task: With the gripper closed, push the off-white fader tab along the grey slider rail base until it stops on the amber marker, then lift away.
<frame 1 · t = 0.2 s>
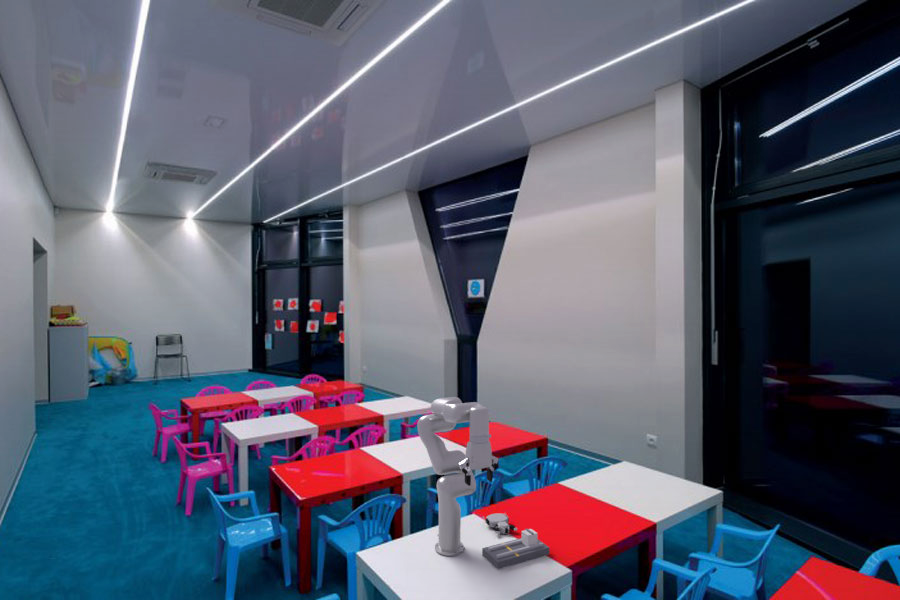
hand: (478, 482, 185), 37 cm above the table, tool pointing down, fingers open, 9 cm apart
fader tab: (529, 537, 205), point 6 cm above the table, slide at 0.0 cm
robot toy: (500, 529, 225), on the table
grey slider rail base: (515, 554, 201), on the table
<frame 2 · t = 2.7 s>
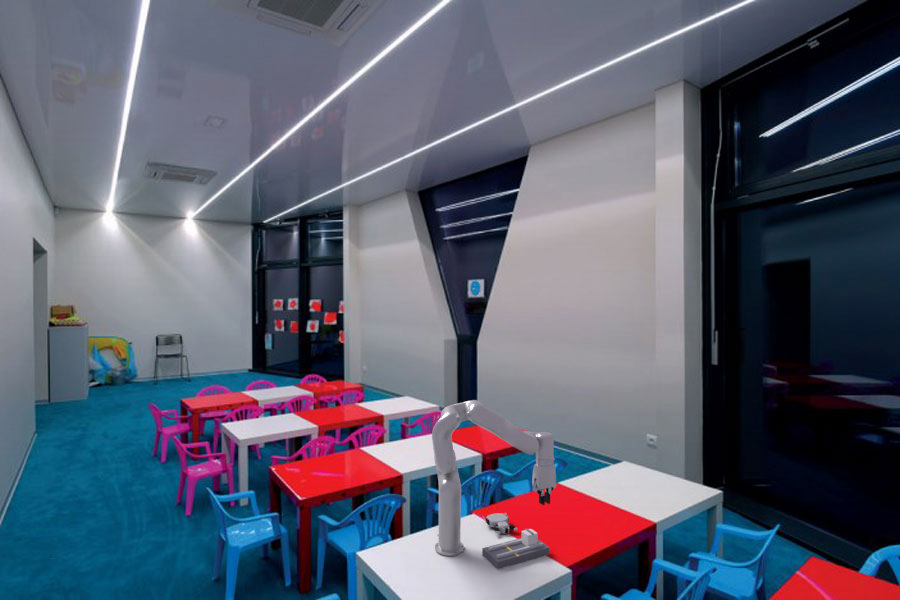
hand: (544, 503, 208), 19 cm above the table, tool pointing down, fingers closed
nothing on the table moved.
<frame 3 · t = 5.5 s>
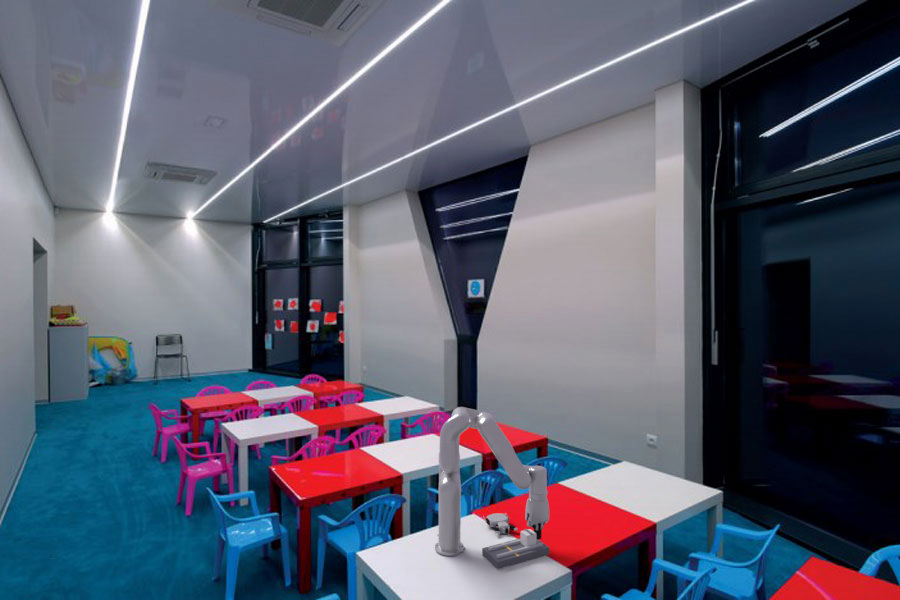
hand: (537, 537, 207), 5 cm above the table, tool pointing down, fingers closed
fader tab: (528, 537, 204), point 6 cm above the table, slide at 0.6 cm, touching gripper
everything else where it was.
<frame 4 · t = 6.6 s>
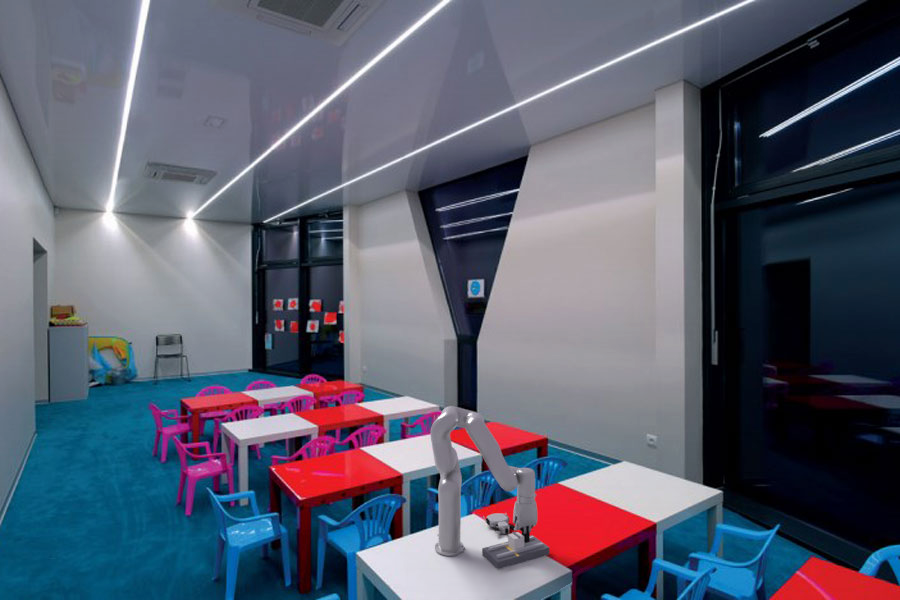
hand: (525, 541, 204), 5 cm above the table, tool pointing down, fingers closed
fader tab: (516, 540, 202), point 6 cm above the table, slide at 6.9 cm, touching gripper
everything else where it was.
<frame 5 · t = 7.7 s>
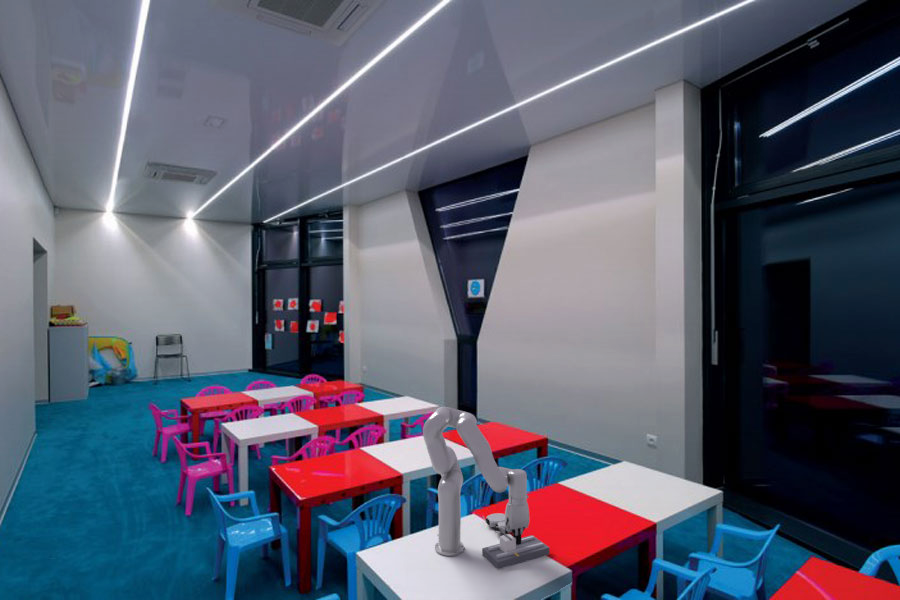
hand: (517, 543, 202), 5 cm above the table, tool pointing down, fingers closed
fader tab: (507, 543, 200), point 6 cm above the table, slide at 11.2 cm, touching gripper
everything else where it was.
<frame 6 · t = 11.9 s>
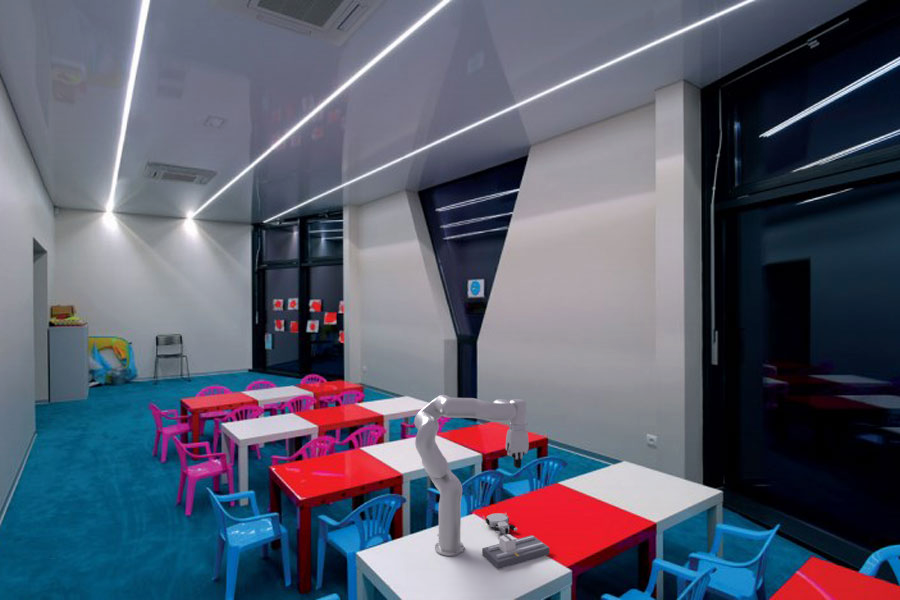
hand: (517, 467, 217), 32 cm above the table, tool pointing down, fingers closed
fader tab: (507, 543, 200), point 6 cm above the table, slide at 11.4 cm
everything else where it was.
at the end: fader tab slide at 11.4 cm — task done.
